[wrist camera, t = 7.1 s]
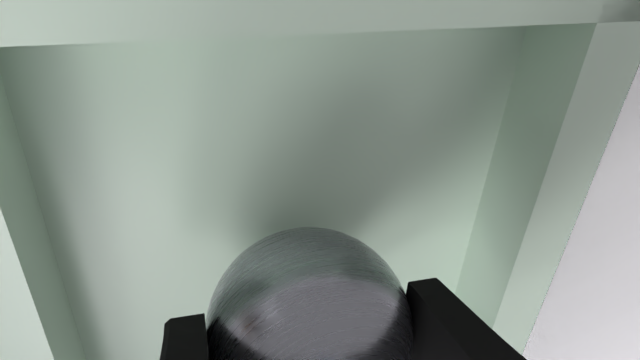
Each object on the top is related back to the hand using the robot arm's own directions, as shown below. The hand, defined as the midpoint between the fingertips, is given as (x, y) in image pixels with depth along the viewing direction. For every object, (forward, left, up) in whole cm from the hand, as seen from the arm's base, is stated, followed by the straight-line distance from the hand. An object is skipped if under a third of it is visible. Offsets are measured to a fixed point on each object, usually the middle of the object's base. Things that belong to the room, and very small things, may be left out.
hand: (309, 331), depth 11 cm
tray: (0, 0, -3) cm, 3 cm away
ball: (0, 0, -2) cm, 2 cm away
